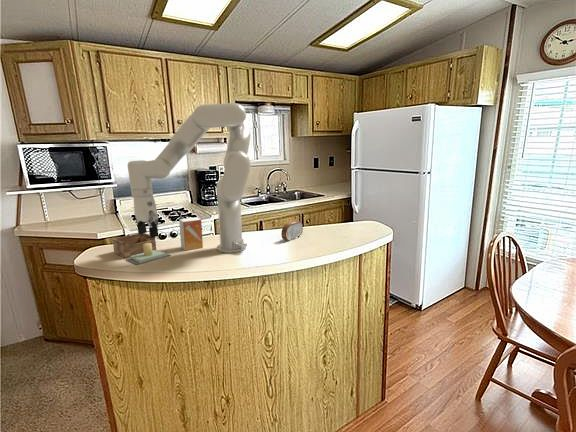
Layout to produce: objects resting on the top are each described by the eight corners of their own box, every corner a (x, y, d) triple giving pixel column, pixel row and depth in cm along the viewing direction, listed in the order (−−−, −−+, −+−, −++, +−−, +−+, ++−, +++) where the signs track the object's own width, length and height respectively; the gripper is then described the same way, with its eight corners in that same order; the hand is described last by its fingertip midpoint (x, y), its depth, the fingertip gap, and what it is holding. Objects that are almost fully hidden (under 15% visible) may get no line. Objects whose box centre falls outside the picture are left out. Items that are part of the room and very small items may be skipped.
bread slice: (298, 235, 162) (298, 218, 160) (304, 235, 160) (304, 219, 158) (280, 242, 150) (280, 224, 148) (286, 243, 148) (286, 225, 146)
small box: (185, 251, 138) (182, 221, 135) (181, 247, 143) (178, 219, 140) (203, 247, 142) (201, 219, 140) (198, 244, 147) (196, 216, 145)
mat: (170, 255, 132) (170, 255, 132) (136, 265, 122) (136, 264, 122) (159, 251, 138) (159, 250, 138) (125, 259, 128) (125, 259, 127)
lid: (166, 255, 131) (164, 242, 130) (140, 262, 123) (138, 249, 122) (156, 251, 136) (155, 239, 135) (130, 258, 128) (129, 245, 127)
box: (156, 250, 138) (155, 236, 137) (125, 258, 129) (123, 243, 127) (144, 246, 145) (142, 232, 144) (114, 253, 136) (112, 238, 134)
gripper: (162, 192, 122) (168, 236, 125) (141, 190, 133) (147, 230, 136) (143, 195, 116) (149, 240, 120) (122, 192, 127) (129, 234, 131)
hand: (148, 235), depth 128 cm, fingers open, 9 cm apart
